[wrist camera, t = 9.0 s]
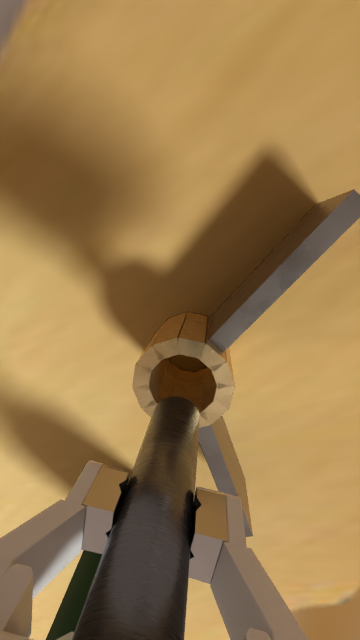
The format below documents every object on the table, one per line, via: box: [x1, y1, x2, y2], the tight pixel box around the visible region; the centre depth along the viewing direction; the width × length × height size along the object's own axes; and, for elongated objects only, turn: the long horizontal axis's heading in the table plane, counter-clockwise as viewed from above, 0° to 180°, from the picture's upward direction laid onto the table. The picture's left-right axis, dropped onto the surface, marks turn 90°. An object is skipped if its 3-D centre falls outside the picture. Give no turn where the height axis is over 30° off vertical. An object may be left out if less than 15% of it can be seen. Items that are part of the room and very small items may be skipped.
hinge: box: [132, 190, 360, 537], centre depth 18 cm, size 21×15×6 cm
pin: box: [72, 396, 200, 640], centre depth 9 cm, size 2×2×9 cm
